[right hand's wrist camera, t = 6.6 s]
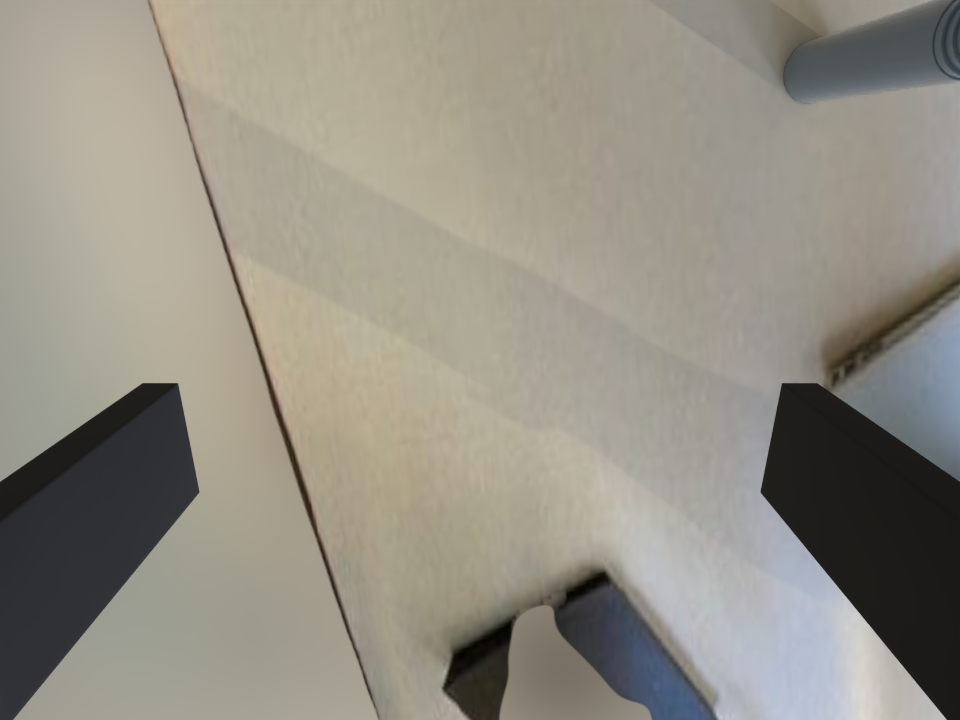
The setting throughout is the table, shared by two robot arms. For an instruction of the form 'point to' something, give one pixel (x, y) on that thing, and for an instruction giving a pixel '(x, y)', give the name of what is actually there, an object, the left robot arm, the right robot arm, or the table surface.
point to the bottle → (880, 55)
